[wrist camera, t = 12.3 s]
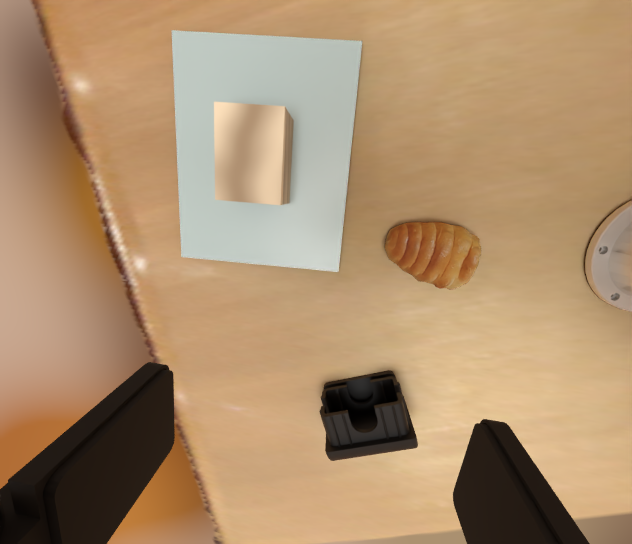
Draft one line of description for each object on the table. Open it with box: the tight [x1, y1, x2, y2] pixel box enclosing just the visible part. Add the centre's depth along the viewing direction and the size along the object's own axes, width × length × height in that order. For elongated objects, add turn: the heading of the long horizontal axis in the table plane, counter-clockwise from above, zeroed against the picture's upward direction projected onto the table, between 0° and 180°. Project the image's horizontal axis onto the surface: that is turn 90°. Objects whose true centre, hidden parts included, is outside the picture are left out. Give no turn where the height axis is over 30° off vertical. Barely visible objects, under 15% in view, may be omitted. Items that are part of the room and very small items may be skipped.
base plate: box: [172, 30, 362, 272], centre depth 30 cm, size 18×22×4 cm
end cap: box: [320, 371, 418, 461], centre depth 35 cm, size 10×7×7 cm
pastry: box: [385, 222, 481, 290], centre depth 31 cm, size 9×7×4 cm
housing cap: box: [214, 102, 294, 205], centre depth 28 cm, size 6×8×5 cm
